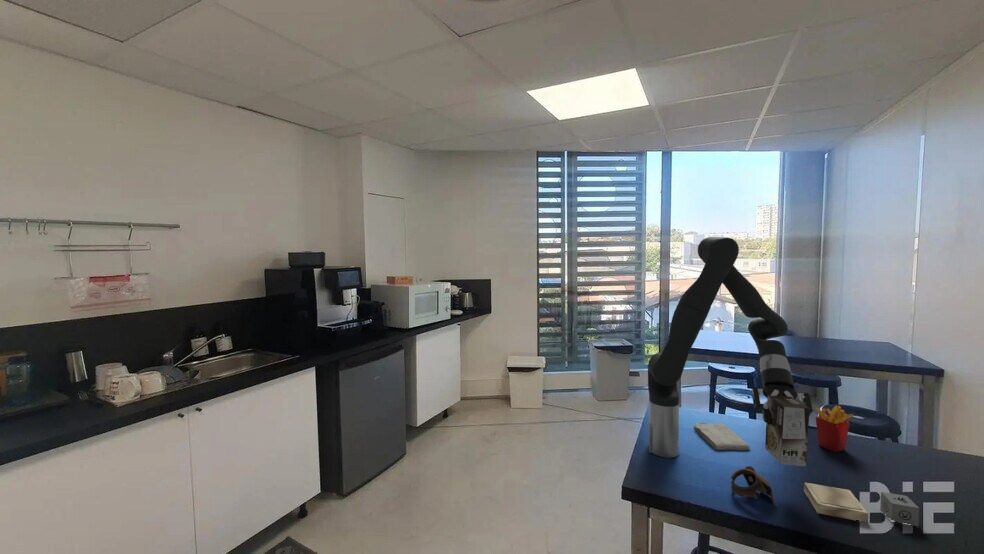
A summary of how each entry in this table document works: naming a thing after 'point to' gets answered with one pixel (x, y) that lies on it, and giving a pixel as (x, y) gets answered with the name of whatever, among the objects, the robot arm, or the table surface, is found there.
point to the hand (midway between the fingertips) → (785, 426)
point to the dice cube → (899, 508)
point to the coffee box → (787, 430)
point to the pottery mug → (751, 484)
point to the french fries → (832, 428)
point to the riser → (835, 502)
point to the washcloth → (721, 437)
